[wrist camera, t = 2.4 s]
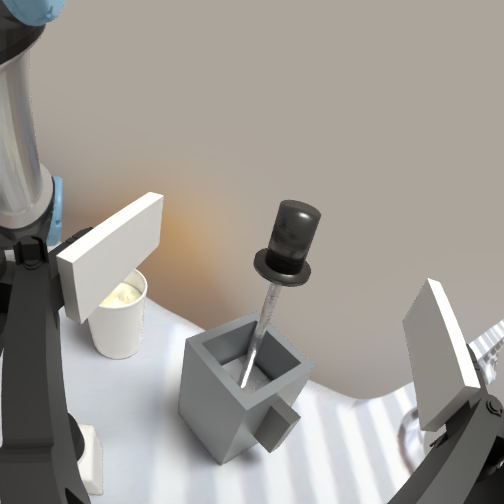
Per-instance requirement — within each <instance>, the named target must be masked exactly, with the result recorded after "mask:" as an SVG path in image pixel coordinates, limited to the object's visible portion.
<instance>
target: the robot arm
mask: <svg viewBox="0 0 504 504" xmlns="http://www.w3.org/2000/svg"><path fill="white" fill-rule="evenodd" d="M64 3H65V0H0V356H1V353H2V351H3V348H4V351H3V365H2V391H1V411H2V436H3V444H2V447H0V500H1V504H91V502H90V499H89V496H88V493H87V491H86V489H85V486H84V484H83V482H82V479H81V476H80V472H79V468H78V464H77V460H76V455H75V451H74V446H73V441H72V435H71V430H70V424H69V418H68V412H67V405H66V398H65V390H64V381H63V371H62V359H61V343H60V317H59V313H58V310H59V309H60V308H61V307H63V306H64V307H65V312H66V316H67V317H68V318H70V319H72V320H74V321H76V322H78V323H80V324H82V323H83V322H84V321H85V320H86V319H87V318H88V317H89V316H90V315H91V314H92V312H93V311H94V310H95V309H96V308H97V307H98V306H99V305H100V304H101V303H102V302H103V301H104V300H105V299H106V298H107V297H108V296H109V295H110V294H111V293H112V291H113V290H114V289H115V288H116V287H117V286H118V285H119V284H120V283H121V282H122V281H123V280H124V279H125V278H126V277H127V276H128V275H129V274H130V273H131V272H132V271H133V270H134V269H135V268H136V267H137V266H138V265H139V264H140V263H141V262H142V261H143V260H144V259H145V258H146V257H147V256H148V255H149V254H150V253H151V252H152V251H153V250H154V249H155V248H156V247H158V246H159V239H160V227H161V217H162V207H163V206H162V205H163V195H160V194H156V193H152V192H149V193H147V194H146V195H144V196H143V197H141V198H139V199H138V200H136V201H135V202H133V203H131V204H130V205H128V206H127V207H125V208H124V209H122V210H121V211H119V212H118V213H116V214H115V215H113V216H112V217H110V218H109V219H107V220H106V221H104V222H103V223H101V224H100V225H98V226H97V227H95V228H92V227H89V228H86V229H84V230H81V231H79V232H78V233H76V234H75V235H73V236H72V238H71V237H70V238H69V239H67V240H66V241H65V242H63V243H62V244H60V245H59V246H57V247H56V248H55V249H53V250H52V251H50V252H49V253H48V250H47V247H48V246H55V245H57V244H58V243H59V241H60V238H61V218H62V217H61V216H62V195H63V183H62V179H61V178H60V177H55V176H51V175H50V173H49V172H48V170H47V169H46V168H45V167H44V166H43V165H42V164H41V163H39V159H38V153H37V145H36V138H35V130H34V122H33V112H32V101H31V86H30V53H29V52H30V51H29V50H30V48H31V47H32V46H33V45H34V44H35V43H36V42H37V41H38V40H39V39H40V38H41V36H42V34H43V33H44V30H45V28H46V23H47V22H50V21H52V20H54V19H55V18H57V17H58V15H59V14H60V12H61V10H62V8H63V6H64ZM4 250H14V255H15V260H16V262H12V261H7V260H6V257H5V252H4ZM403 326H404V331H405V336H406V341H407V346H408V351H409V356H410V362H411V367H412V373H413V379H414V385H415V392H416V399H417V406H418V414H419V422H420V430H423V431H431V432H436V431H437V430H438V429H439V428H441V427H442V426H443V425H444V424H446V430H447V431H446V432H445V433H444V434H443V435H441V436H440V437H439V438H438V439H437V440H435V441H434V442H433V443H432V444H431V445H430V447H432V446H433V445H434V447H433V448H432V449H431V451H430V452H429V454H428V455H427V456H426V458H425V459H424V460H423V462H422V463H421V464H420V465H419V467H418V468H417V469H416V471H415V472H414V473H413V474H412V476H411V477H410V478H409V479H408V480H407V482H406V483H405V484H404V485H403V486H402V488H401V489H400V490H399V491H398V492H397V493H396V495H395V496H394V497H393V498H392V499H391V500H390V501H389V502H388V503H387V504H504V462H503V464H502V466H501V467H500V463H501V462H502V461H504V409H503V406H502V404H501V403H500V401H499V400H498V399H497V398H496V397H494V396H493V395H490V394H488V392H487V389H486V386H485V383H484V380H483V377H482V374H481V371H480V368H479V365H478V364H477V360H476V357H475V354H474V352H473V351H472V349H471V348H470V347H469V345H468V344H465V341H464V339H463V336H462V333H461V331H460V329H459V326H458V323H457V321H456V319H455V316H454V314H453V311H452V309H451V306H450V304H449V302H448V300H447V297H446V295H445V293H444V291H443V288H442V286H441V284H440V282H437V281H434V280H431V279H428V278H427V280H426V281H425V284H424V285H423V287H422V289H421V290H420V292H419V294H418V296H417V297H416V300H415V301H414V303H413V304H412V306H411V308H410V310H409V311H408V313H407V314H406V316H405V318H404V319H403Z"/></svg>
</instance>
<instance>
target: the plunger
mask: <svg viewBox="0 0 504 504" xmlns="http://www.w3.org/2000/svg"><path fill="white" fill-rule="evenodd" d="M320 217H321V214H320V212H319V211H318V210H317V209H316V208H314V207H312V206H310V205H308V204H306V203H303V202H300V201H294V200H284V201H282V202H281V203H280V206H279V210H278V214H277V217H276V221H275V224H274V228H273V231H272V235H271V238H270V241H269V245H268V248H265V249H262V250H260V251H258V252H257V253H256V255H255V259H254V267H255V269H256V271H257V272H258V273H259V274H260V275H261V276H262V277H263V278H265V279H267V280H268V281H270V282H271V284H270V287H269V290H268V293H267V296H266V299H265V302H264V305H263V309H262V312H261V315H260V318H259V321H258V324H257V327H256V330H255V333H254V336H253V339H252V342H251V345H250V348H249V351H248V354H247V356H246V355H243V356H241V357H239V358H237V359H235V360H233V361H231V362H229V363H227V364H225V365H223V366H222V367H223V368H224V369H225V371H226V372H227V373H228V374H229V375H230V376H231V377H232V378H233V380H234V381H235V382H236V383H237V384H238V385H239V386H240V387H241V388H242V390H243V391H244V392H245V393H246V394H247V395H250V394H252V393H254V392H255V391H257V390H259V389H260V388H262V387H264V386H265V385H267V384H269V383H270V382H271V381H270V380H269V379H268V378H267V377H266V375H265V374H264V373H263V372H262V371H261V370H260V369H259V368H258V367H257V366H256V365H255V364H254V362H255V360H256V357H257V354H258V351H259V349H260V346H261V343H262V341H263V338H264V335H265V332H266V330H267V327H268V324H269V321H270V319H271V316H272V313H273V310H274V307H275V305H276V302H277V299H278V296H279V293H280V290H281V287H282V286H288V287H295V286H300V285H303V284H305V283H306V282H307V281H308V279H309V276H310V274H311V268H310V266H309V264H308V263H307V262H306V261H305V259H306V257H307V254H308V251H309V248H310V245H311V243H312V240H313V237H314V234H315V231H316V229H317V226H318V223H319V220H320Z"/></svg>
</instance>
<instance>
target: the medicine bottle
mask: <svg viewBox="0 0 504 504" xmlns="http://www.w3.org/2000/svg"><path fill="white" fill-rule="evenodd" d="M68 418H69V424H70V430H71V435H72V441H73V446H74V451H75V455H76V460H77V464H78V468H79V472H80V476H81V479H82V482H83V484H84V486H85V489H86V491H87V493H88V494H96V495H102V494H103V447H102V445H101V442H100V440H99V438H98V435H97V433H96V430H95V428H94V427H93V426H92V425H85V424H77V422H76V421H75V419H74V418H73V417H72V416H71V415H70V414H69V413H68Z"/></svg>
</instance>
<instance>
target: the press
mask: <svg viewBox="0 0 504 504" xmlns="http://www.w3.org/2000/svg"><path fill="white" fill-rule="evenodd" d="M260 315H261V314H260V313H259V312H258V311H255V312H252V313H250V314H248V315H245V316H243V317H240V318H238V319H235V320H233V321H231V322H228V323H226V324H223V325H221V326H218V327H215V328H213V329H210V330H208V331H205V332H203V333H200V334H198V335H195V336H192V337H190V338H187V339H186V342H185V350H184V359H183V368H182V377H181V386H180V396H179V406H178V412H179V414H180V415H181V417H182V418H183V419H184V421H185V422H186V423H187V425H188V426H189V427H190V428H191V430H192V431H193V432H194V434H195V435H196V436H197V437H198V439H199V440H200V441H201V442H202V444H203V445H204V446H205V447H206V449H207V450H208V451H209V452H210V453H211V455H212V456H213V457H214V458H215V459H216V461H217V462H218V463H219V464H220V465H221V466H222V465H223V464H225V463H227V462H228V461H230V460H232V459H233V458H235V457H236V456H238V455H240V454H241V453H243V452H244V451H246V450H248V449H249V448H251V447H252V446H254V445H255V444H257V443H258V442H259V443H260V444H261V445H262V446H263V447H264V448H265V449H266V450H267V451H268V452H269V453H271V452H272V451H274V450H275V449H277V448H278V447H279V446H280V445H281V444H282V442H283V441H284V440H285V438H286V437H287V436H288V434H289V433H290V432H291V430H292V429H293V428H294V426H295V425H296V424H297V422H298V421H299V419H300V418H301V417H300V416H299V415H298V414H297V413H296V412H295V411H294V410H293V409H292V408H291V407H292V405H293V403H294V402H295V400H296V399H297V397H298V395H299V394H300V392H301V390H302V389H303V387H304V385H305V384H306V382H307V380H308V379H309V377H310V375H311V374H312V372H313V370H314V369H315V367H316V365H315V364H314V363H313V362H312V361H311V360H310V359H308V358H307V357H306V356H305V355H304V354H303V353H302V352H301V351H300V350H299V349H298V348H297V347H295V346H294V345H293V344H292V343H291V342H290V341H289V340H288V339H287V338H285V336H283V335H282V334H281V333H280V332H279V331H278V330H277V329H276V328H275V327H274V326H273V325H272V324H271V323H269V324H268V327H267V330H266V332H265V335H264V338H263V341H262V343H261V346H260V349H259V351H258V354H257V357H256V360H255V362H254V364H255V365H256V366H257V367H258V368H259V369H260V370H261V371H262V372H263V373H264V374H265V375H266V377H267V378H268V379H269V380H270V381H271V382H270V383H269V384H267V385H265V386H264V387H262V388H260V389H259V390H257V391H255V392H254V393H252V394H250V395H247V394H246V393H245V392H244V391H243V390H242V388H241V387H240V386H239V385H238V384H237V383H236V382H235V381H234V380H233V378H232V377H231V376H230V375H229V374H228V373H227V372H226V371H225V369H224V368H223V367H222V366H223V365H225V364H227V363H229V362H231V361H233V360H235V359H237V358H239V357H241V356H243V355H246V356H247V354H248V351H249V348H250V345H251V342H252V339H253V336H254V333H255V330H256V327H257V324H258V321H259V318H260Z"/></svg>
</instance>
